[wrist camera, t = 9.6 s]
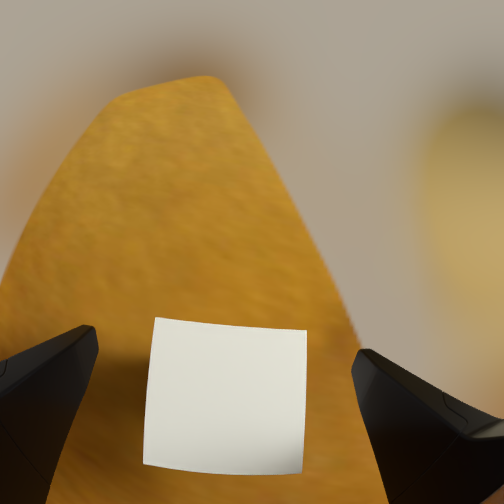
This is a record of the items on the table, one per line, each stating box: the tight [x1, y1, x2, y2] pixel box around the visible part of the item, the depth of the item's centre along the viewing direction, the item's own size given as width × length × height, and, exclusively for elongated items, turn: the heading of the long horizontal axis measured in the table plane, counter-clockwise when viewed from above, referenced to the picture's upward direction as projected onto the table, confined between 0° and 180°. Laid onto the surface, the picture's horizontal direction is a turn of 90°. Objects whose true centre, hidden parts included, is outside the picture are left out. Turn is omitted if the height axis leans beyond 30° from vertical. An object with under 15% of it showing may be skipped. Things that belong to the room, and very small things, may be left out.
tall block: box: [143, 317, 307, 475], centre depth 11 cm, size 4×4×10 cm
